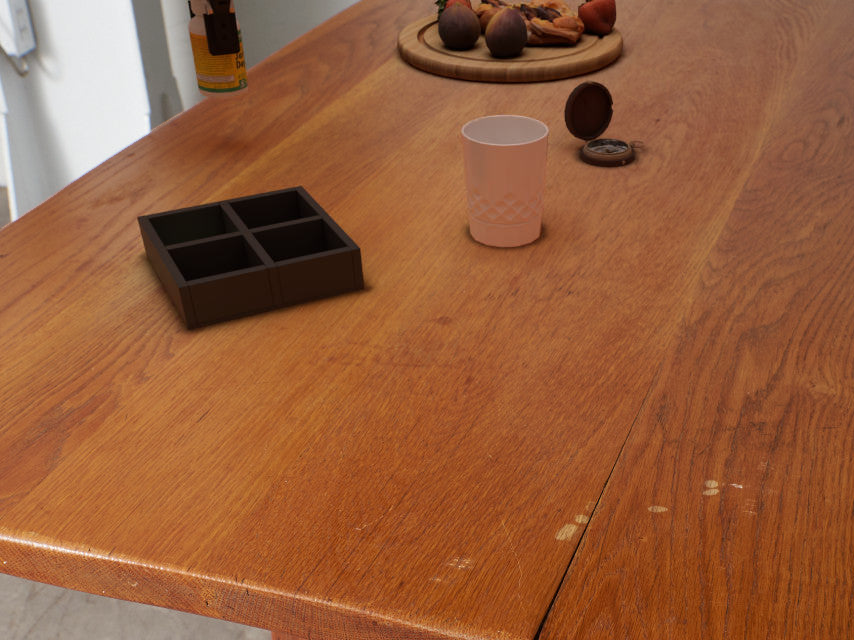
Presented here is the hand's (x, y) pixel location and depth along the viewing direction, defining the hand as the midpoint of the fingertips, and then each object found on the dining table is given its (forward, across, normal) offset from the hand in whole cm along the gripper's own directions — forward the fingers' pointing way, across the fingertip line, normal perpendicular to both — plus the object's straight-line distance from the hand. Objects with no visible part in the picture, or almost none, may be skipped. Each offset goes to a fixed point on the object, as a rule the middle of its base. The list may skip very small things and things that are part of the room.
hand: (216, 44), depth 108 cm
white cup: (+11, +35, +17) cm, 40 cm away
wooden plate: (+10, -19, +46) cm, 51 cm away
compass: (+10, +22, +37) cm, 44 cm away
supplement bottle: (+5, 0, 0) cm, 5 cm away
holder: (+11, +32, -7) cm, 35 cm away
